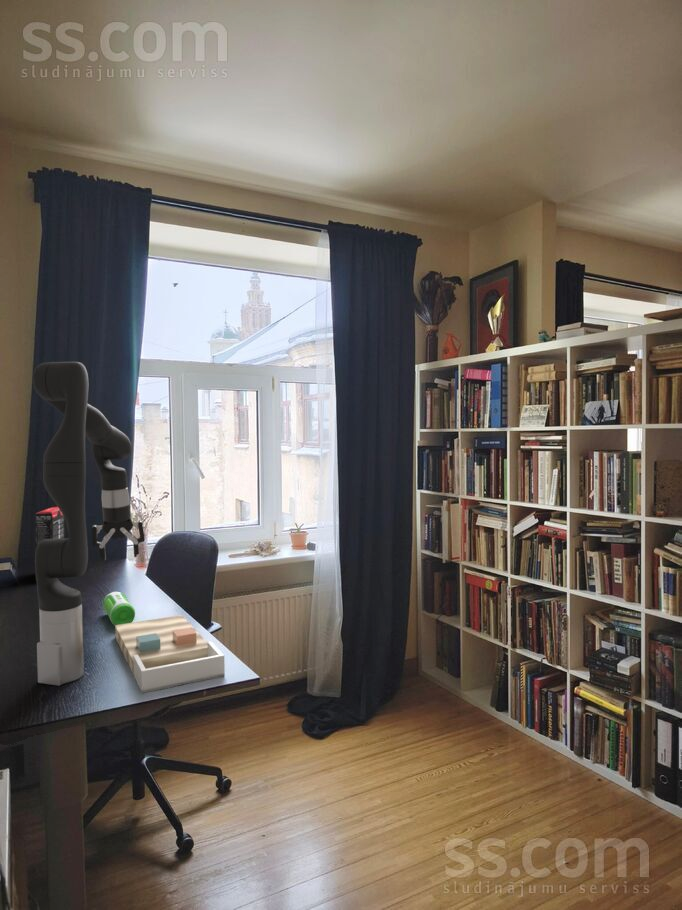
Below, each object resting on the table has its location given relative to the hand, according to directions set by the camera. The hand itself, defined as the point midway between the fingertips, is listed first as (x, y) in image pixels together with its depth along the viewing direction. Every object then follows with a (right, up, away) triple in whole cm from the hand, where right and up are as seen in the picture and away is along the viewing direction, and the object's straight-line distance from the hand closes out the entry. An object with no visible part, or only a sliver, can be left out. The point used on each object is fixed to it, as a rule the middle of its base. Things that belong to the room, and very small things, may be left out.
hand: (120, 558), depth 174 cm
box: (+26, -23, -31) cm, 46 cm away
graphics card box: (-52, -19, +66) cm, 87 cm away
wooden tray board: (+16, -22, -13) cm, 30 cm away
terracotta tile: (+24, -19, -18) cm, 35 cm away
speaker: (-4, -21, +10) cm, 24 cm away
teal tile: (+16, -19, -22) cm, 33 cm away
